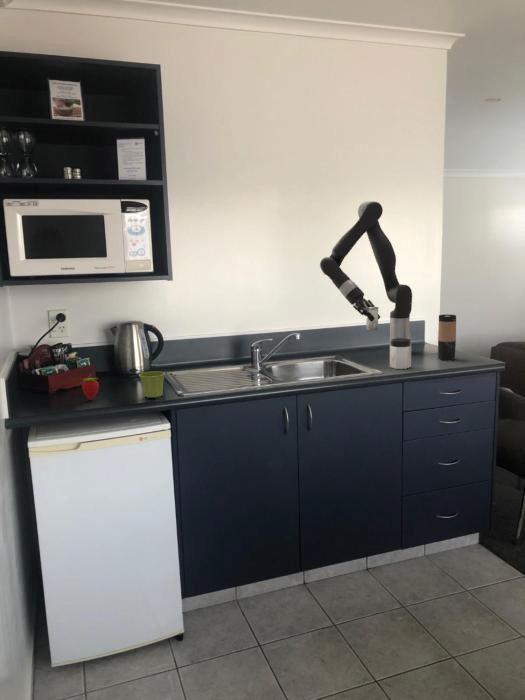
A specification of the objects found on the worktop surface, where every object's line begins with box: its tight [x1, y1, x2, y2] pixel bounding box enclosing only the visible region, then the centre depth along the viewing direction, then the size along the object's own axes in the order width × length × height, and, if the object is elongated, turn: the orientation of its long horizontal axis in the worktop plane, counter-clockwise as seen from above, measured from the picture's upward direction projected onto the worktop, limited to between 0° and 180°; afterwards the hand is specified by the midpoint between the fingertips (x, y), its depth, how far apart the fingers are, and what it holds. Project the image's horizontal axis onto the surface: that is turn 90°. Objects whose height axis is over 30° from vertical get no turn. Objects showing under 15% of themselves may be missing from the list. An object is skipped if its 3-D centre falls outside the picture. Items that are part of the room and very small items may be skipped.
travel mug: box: [437, 314, 457, 361], centre depth 254 cm, size 8×8×20 cm
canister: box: [365, 306, 379, 332], centre depth 250 cm, size 5×5×10 cm
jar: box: [389, 338, 412, 370], centre depth 241 cm, size 9×8×12 cm
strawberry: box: [81, 373, 100, 400], centre depth 201 cm, size 6×8×10 cm
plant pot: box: [138, 370, 166, 398], centre depth 203 cm, size 9×9×9 cm
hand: (376, 319), depth 249 cm, fingers closed on canister, 5 cm apart
